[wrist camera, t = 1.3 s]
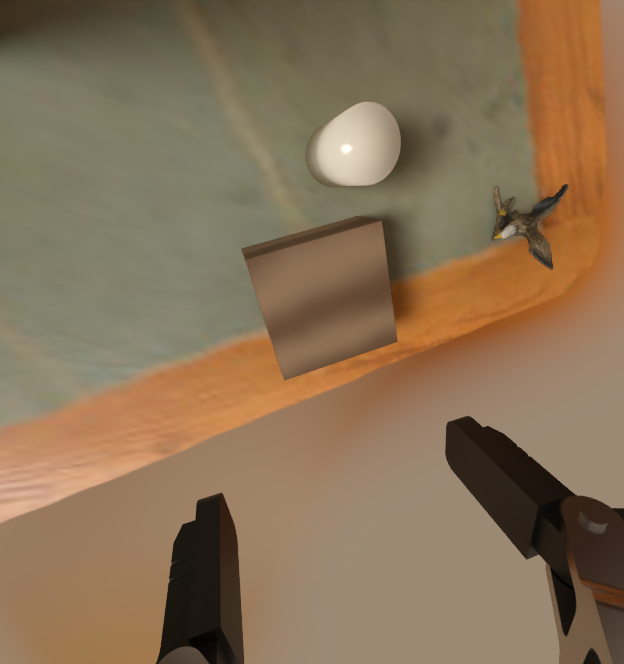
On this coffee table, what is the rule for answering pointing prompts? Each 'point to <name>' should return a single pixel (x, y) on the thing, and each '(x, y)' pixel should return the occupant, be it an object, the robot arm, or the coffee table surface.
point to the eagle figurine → (527, 224)
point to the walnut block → (324, 293)
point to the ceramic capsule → (355, 147)
